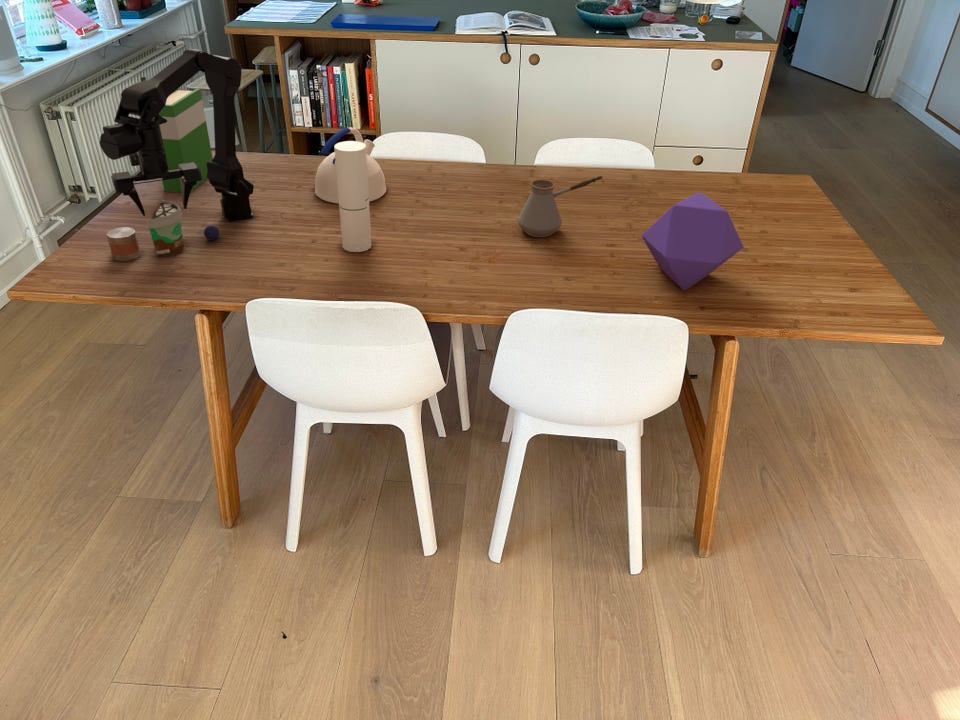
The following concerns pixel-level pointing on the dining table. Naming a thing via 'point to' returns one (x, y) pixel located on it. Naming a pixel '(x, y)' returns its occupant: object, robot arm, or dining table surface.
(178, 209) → the food container
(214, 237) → the blue ball
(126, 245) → the tin can
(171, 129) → the hardback book
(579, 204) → the dining table surface
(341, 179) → the cylindrical container
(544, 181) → the coffee pot
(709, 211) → the purple faceted block
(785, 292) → the dining table surface
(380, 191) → the kettle
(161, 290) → the dining table surface
